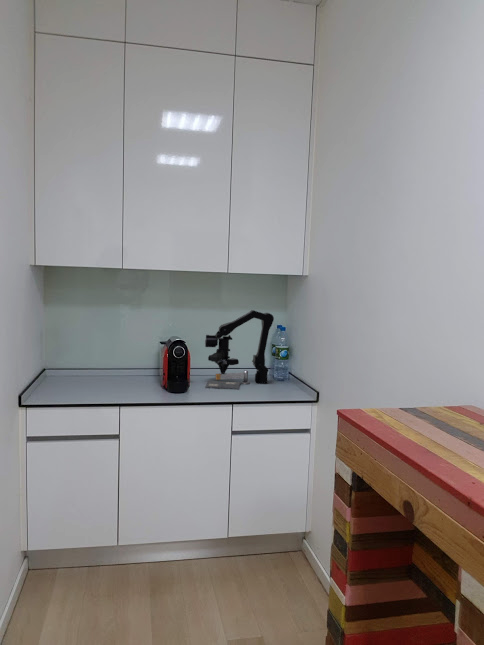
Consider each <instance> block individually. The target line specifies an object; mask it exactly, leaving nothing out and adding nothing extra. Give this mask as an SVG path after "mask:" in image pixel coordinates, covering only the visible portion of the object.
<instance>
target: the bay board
mask: <svg viewBox="0 0 484 645" xmlns="http://www.w3.org/2000/svg"><path fill="white" fill-rule="evenodd" d="M240 385H241V382H238V381H220V380H207V382H206V384H205V387H204V388H205V389H215V390H216V389H217V390H218V389H220V390H240Z"/></svg>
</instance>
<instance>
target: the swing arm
mask: <svg viewBox="0 0 484 645" xmlns="http://www.w3.org/2000/svg"><path fill="white" fill-rule="evenodd" d="M232 379H234V380H236V379H243V380H242V382H245V383H246V382H249V381H248V380H249V370H243V372H229V373H228V372H227V373H226V372H225V373H224V374H221V373H215V381H220V380H232Z"/></svg>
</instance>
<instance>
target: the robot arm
mask: <svg viewBox="0 0 484 645" xmlns="http://www.w3.org/2000/svg"><path fill="white" fill-rule="evenodd" d="M253 319H257V320H259V321H260V320H261V323H260V324H261V332H260V337H259V342H258V347H257V352H256V354H253V355H252V360H251V362H252V365H253V367H254V369H256V373H255V374H254V382H255V383H256V384H265V385H267V384H268V372H269V368H267V367H268V366H266V358H265V354H266V348H267V343H268V338H269V333H270V329H271V327H272V325H273V323H274V319H275V318H274V315H272V314H271V313H270V312H264V313H263V312H260V311H257V310H254V309H251V310H250V311H249V312H247V313H245V314H243V315H241V316H240V317H238V318H236V319H235V320H234V319H233V321H230V322H226V323H223V324H220V326H219V327H218V330H217V332H216V333H215V335H212V334H211V335H210V334H206V335H205V341H204V346H205V348H216V347H217V346H218V348H217V349H216V352H214V353H213V354H210V355H209V356H208V357H207V360H208V361H209V362H212V363H213V362H214V363H215V364H216V365H217V366H218V368H219V371H220V374H224V373H226V371H227V370H228V368H229V366H237V365H239V363H240V362H239V359H238V358H234V357H233V358H231V356H229V352H231V348H229V347H230V341H231V340H233V337H231V335H230V334H231V333H232V332H234V330H236V329H237V328H238V327H240V326H243V324H245V323H247V322H249V321H251V320H253Z"/></svg>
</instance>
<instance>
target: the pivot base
mask: <svg viewBox="0 0 484 645" xmlns="http://www.w3.org/2000/svg"><path fill="white" fill-rule="evenodd" d="M241 384H242V385H250V384H251V383H250V382H249V381H248V382H246V383H245V382H243V381H242V382H240V385H241Z"/></svg>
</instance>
